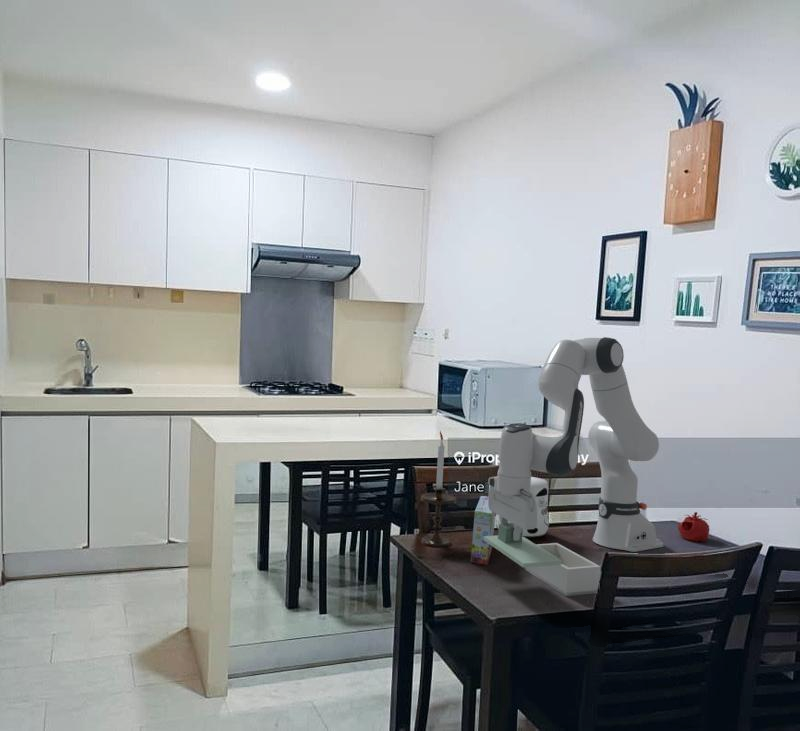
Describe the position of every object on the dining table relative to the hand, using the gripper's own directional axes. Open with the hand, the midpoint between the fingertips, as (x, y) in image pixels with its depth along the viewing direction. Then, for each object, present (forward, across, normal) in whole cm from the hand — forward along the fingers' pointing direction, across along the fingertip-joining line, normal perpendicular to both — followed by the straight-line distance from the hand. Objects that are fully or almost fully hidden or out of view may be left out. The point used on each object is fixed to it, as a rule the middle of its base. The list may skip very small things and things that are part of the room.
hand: (510, 536), depth 186 cm
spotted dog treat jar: (+12, +38, -26) cm, 47 cm away
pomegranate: (+12, +22, -83) cm, 87 cm away
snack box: (+12, +22, -4) cm, 26 cm away
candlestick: (+12, +34, +6) cm, 37 cm away
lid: (+2, -6, 0) cm, 6 cm away
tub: (+12, -4, -14) cm, 19 cm away
